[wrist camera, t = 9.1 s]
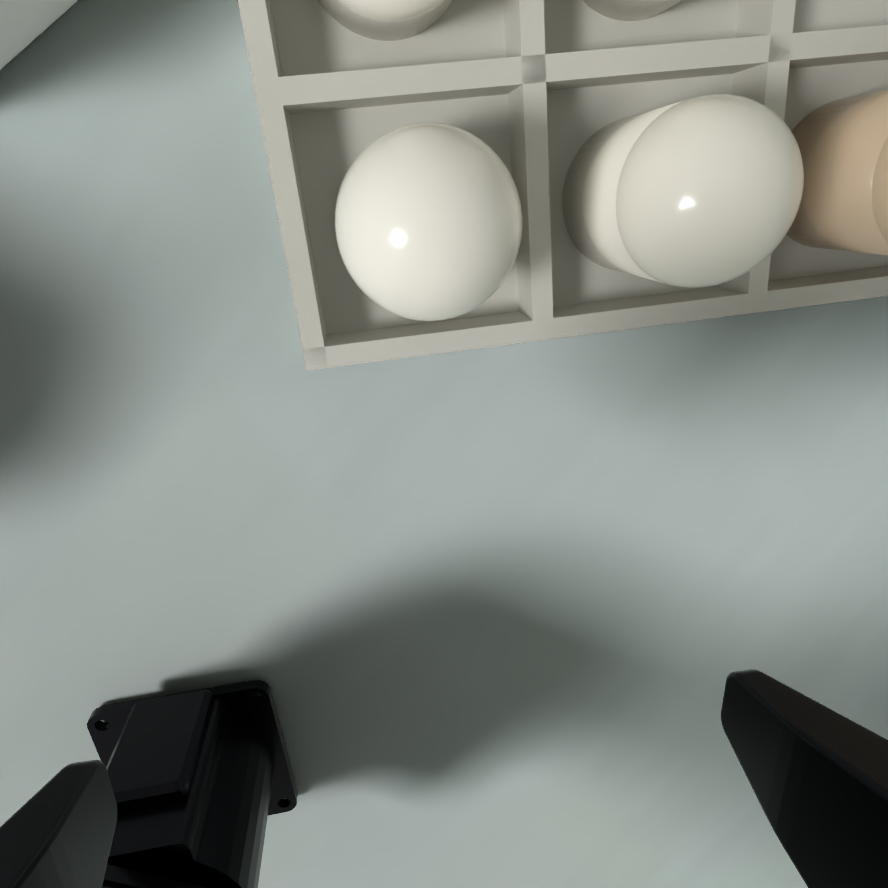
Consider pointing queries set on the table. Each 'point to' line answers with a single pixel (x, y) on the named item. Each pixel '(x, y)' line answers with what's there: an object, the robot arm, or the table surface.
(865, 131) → the brown egg
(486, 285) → the egg
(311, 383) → the table surface
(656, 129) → the egg
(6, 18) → the medicine bottle
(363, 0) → the egg
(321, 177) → the carton
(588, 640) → the table surface
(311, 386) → the table surface
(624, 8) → the egg
